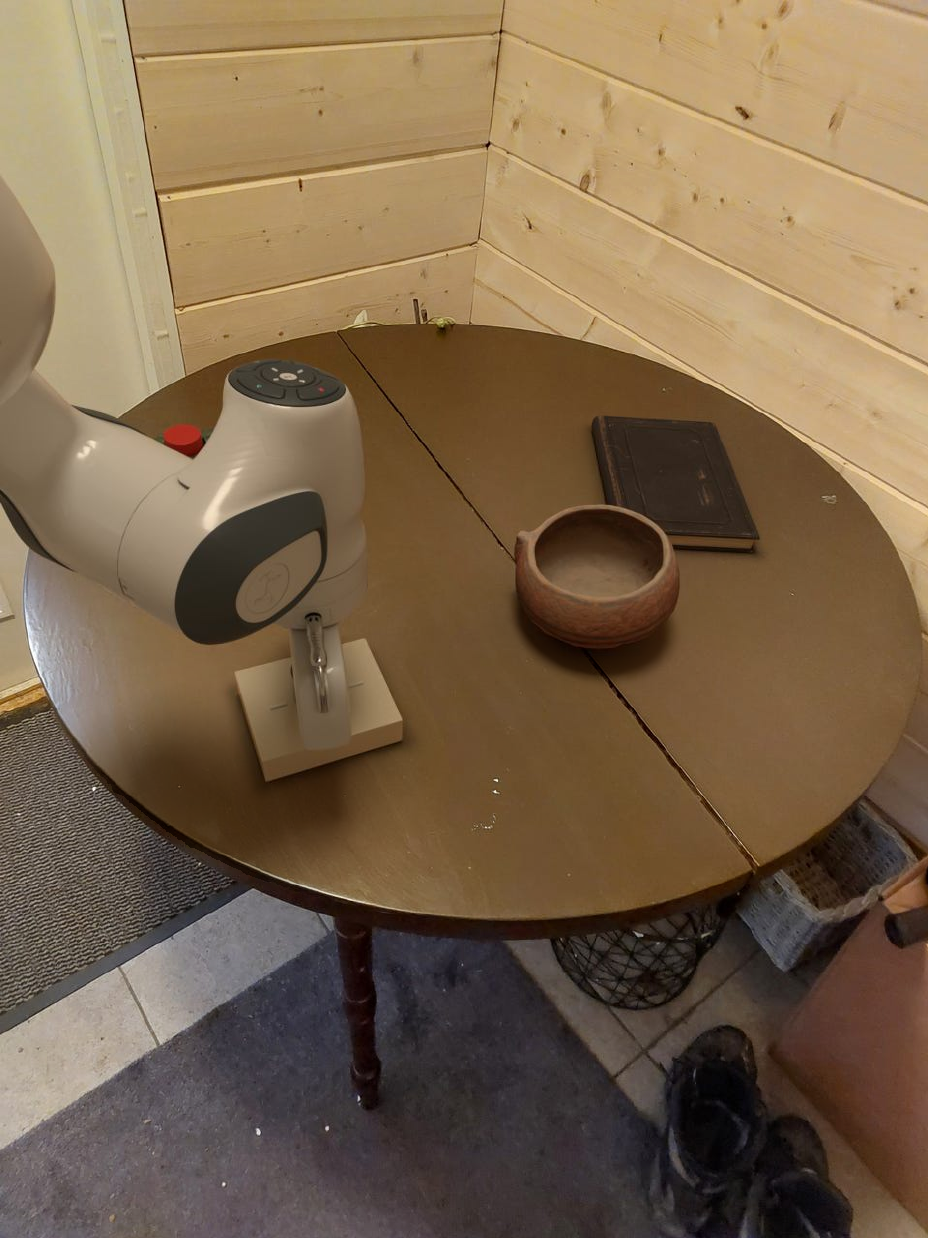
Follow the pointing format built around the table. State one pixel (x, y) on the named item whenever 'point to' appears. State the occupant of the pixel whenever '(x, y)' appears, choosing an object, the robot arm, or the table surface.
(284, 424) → the robot arm
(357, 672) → the hob panel
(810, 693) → the table surface
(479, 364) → the table surface
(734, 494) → the old dark book
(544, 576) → the bowl
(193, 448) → the red push button
